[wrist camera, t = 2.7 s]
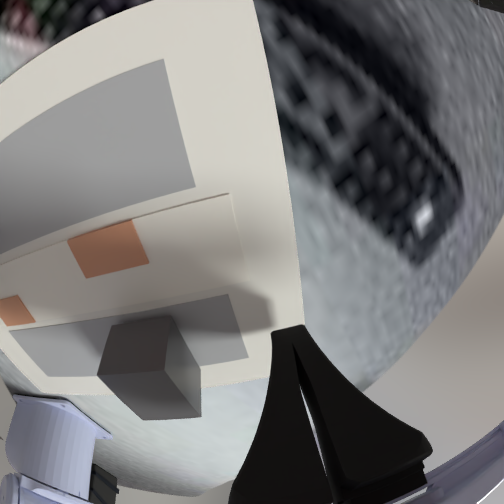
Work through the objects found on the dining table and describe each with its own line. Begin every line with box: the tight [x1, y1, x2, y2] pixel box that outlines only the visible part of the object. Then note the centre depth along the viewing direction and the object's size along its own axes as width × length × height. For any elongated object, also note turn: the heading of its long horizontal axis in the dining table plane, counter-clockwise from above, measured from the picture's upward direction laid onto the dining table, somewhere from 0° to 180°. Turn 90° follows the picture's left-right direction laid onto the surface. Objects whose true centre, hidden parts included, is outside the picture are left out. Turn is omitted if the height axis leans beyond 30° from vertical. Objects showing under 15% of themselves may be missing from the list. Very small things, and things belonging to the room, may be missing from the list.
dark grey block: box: [97, 315, 201, 420], centre depth 11 cm, size 3×4×3 cm
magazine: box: [81, 464, 119, 504], centre depth 27 cm, size 4×13×15 cm, turn 177°
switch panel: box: [0, 0, 305, 395], centre depth 11 cm, size 20×18×2 cm
